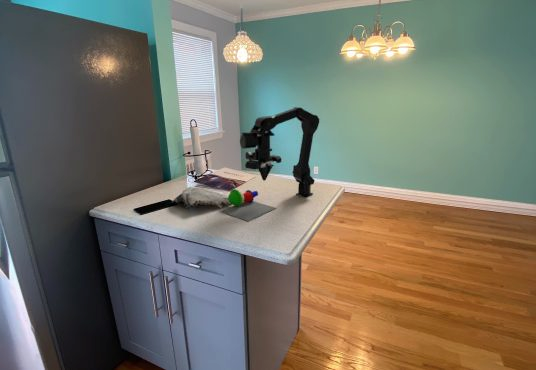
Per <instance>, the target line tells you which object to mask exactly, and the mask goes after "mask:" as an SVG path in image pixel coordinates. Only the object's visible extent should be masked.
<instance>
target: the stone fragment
mask: <svg viewBox="0 0 536 370" xmlns="http://www.w3.org/2000/svg"><path fill="white" fill-rule="evenodd" d="M228 196H229V195H226V194H223V193H220V192H218V191H213V190H208V189H205V188H201V187H197V186H196V187H194V186H189V187H187V188H186V189H184V190H182V192H181V193H180V194H179V195H178V196H176V197H175V198H174V199H173V200H172V201H171V202H170V204H171V203H172V204H174V203H176V204H180V203H181V202H183V207H184V208H190V207H191V206H192V207H196V206H198V205H201V206H211V205H212V206H216V207H219V208H220V209H222V208H223V207H231V206H233V205H232V204H230V202H229V200H228Z"/></svg>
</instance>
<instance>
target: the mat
mask: <svg viewBox="0 0 536 370" xmlns="http://www.w3.org/2000/svg"><path fill="white" fill-rule="evenodd" d="M276 209H277V207H275V206H271V205H267V204H265V203H261V202H256V201H254V200H253V201H252V202H244V201H243V202H242V203H241V205H240V206H234V205H231V206H228V207H227V208H224V209H222V210H220V211H219V212H220V213H222V214H226V215H228V216H231V217H234V218H237V219H240V220H243V221H246V222H247V223H248V222H251V221H252V220H255V219H257V218H259V217H261V216H263V215H266V214H267V213H270V212H272V211H274V210H276Z"/></svg>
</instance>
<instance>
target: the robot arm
mask: <svg viewBox="0 0 536 370" xmlns="http://www.w3.org/2000/svg"><path fill="white" fill-rule="evenodd" d="M295 118H296V119H297V120H298V121H300V124H301V125H300V126H301V130H302V137H301V144H300V151H299V158H298V162H297V164H296V165H295V164H294V165H293V166H292V167H293V169H292V176H293V178H294V179H295V181H296V183H298V191H297V193H295V196H298V197H303V198H308V197H310V196H312V195H314V193H313V192H312V191H311V187H312V185H314V183H315V179H314V178H313V177H312V176H311V167H310V158H311V150H312V146H313V145H312V144H313V139H314V134H315V133H316V131H318V130H317V129H318V128H319V124H320V117H319V116H318V115H317V114H313V113H312V112H309V111H307V110H306V109H304V108H303V107H300V106H299V107H297V106H295V107H293V108H291V109H287V110H285V111H283V112H280V113H277V114H275V115H268V116H265V115H264V116H260V117H257V118H255V121H254V125H253V126H252V128H251V129H250V131H249V132H245V131H243V132H241V136H240V139H239V143H240V145H239V146H240V148H241V149H244V150H245V149H253V148H255V149H254V152H251V151H247V152H245V159H246V160H247V161H246V162H245V168H246V169H250V170H254V171H255V170H258V172H259V174H260V176H261V179H262V181H263V182H264V181H266V180H267V178H268V176H269V175H270V172H271V170H272V169H273V167H274V166H275V165H274V164H272V162H275V163H277V164H280V163H282V157H281V155H274V154H272V155H271V152H272V151H273V148H271V137H274V136H275V133H274V132H272V130H273V129H274V128H275V127H277V126H278V125H280V124H283V123H285V122H288V121H290V120H293V119H295Z"/></svg>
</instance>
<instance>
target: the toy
mask: <svg viewBox="0 0 536 370" xmlns="http://www.w3.org/2000/svg"><path fill="white" fill-rule="evenodd" d="M258 195H259V192H258V191H257V190H254V191H252V190H250V189H248V190H246V191H245V192H244V193H243V192H241V191H239V190H238V189H236V188H233V189H231V191H230V192H229V195H227V196H228V200H229V202H230V205H231V204H232V205H231V206H240V205H241V203H242V202H252V201H254V198H256V197H258Z"/></svg>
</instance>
